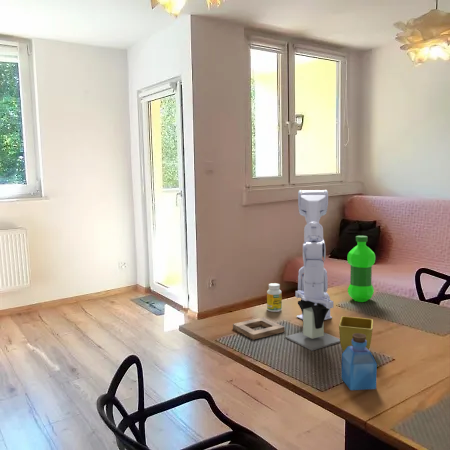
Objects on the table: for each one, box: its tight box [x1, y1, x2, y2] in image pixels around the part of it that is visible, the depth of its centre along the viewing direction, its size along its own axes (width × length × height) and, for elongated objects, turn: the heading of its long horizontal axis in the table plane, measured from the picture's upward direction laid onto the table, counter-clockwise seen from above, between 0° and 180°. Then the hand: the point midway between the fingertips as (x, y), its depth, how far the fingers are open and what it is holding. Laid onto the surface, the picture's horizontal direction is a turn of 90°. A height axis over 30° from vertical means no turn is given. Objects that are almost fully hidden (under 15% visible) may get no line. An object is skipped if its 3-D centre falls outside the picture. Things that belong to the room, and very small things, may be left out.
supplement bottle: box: [266, 282, 283, 313], centre depth 167 cm, size 5×5×10 cm
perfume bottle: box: [341, 333, 378, 391], centre depth 109 cm, size 6×6×12 cm
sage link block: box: [302, 307, 325, 339], centre depth 137 cm, size 4×4×8 cm
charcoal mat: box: [285, 331, 341, 351], centre depth 138 cm, size 12×12×1 cm
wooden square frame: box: [232, 316, 286, 341], centre depth 147 cm, size 12×12×2 cm
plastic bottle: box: [347, 235, 376, 303], centre depth 176 cm, size 10×10×25 cm
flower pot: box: [338, 315, 374, 352], centre depth 127 cm, size 9×9×9 cm
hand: (313, 325), depth 138 cm, fingers closed on sage link block, 4 cm apart
